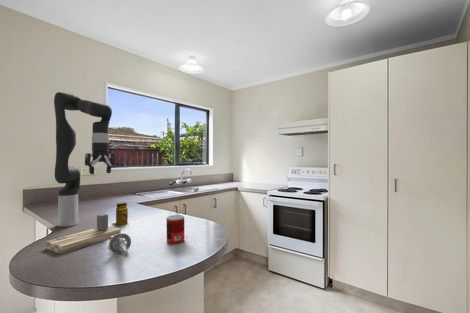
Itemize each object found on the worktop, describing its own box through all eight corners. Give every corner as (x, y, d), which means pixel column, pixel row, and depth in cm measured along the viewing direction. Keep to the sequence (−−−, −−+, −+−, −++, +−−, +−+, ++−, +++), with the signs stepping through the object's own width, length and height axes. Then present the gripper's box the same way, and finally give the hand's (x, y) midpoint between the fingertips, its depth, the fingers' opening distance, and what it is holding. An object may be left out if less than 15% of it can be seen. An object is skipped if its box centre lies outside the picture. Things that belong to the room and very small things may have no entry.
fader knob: (96, 232, 112) (96, 215, 112) (102, 231, 114) (102, 213, 115) (102, 233, 110) (101, 216, 110) (108, 232, 113) (107, 214, 113)
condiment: (129, 224, 132) (129, 203, 132) (112, 227, 127) (112, 205, 128) (127, 221, 138) (127, 201, 138) (111, 224, 134) (111, 203, 134)
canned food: (187, 239, 107) (187, 215, 107) (178, 245, 99) (177, 219, 99) (173, 237, 109) (173, 214, 110) (163, 243, 102) (162, 218, 102)
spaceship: (108, 250, 74) (133, 236, 78) (102, 233, 103) (120, 223, 108) (119, 272, 75) (143, 257, 79) (110, 248, 104) (128, 238, 109)
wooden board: (46, 248, 97) (46, 241, 97) (105, 231, 120) (105, 225, 120) (61, 254, 91) (61, 245, 91) (120, 234, 114) (120, 228, 114)
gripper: (108, 143, 127) (108, 172, 127) (81, 141, 114) (81, 174, 114) (117, 142, 124) (117, 173, 123) (90, 141, 111) (90, 174, 111)
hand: (100, 173), depth 119 cm, fingers open, 8 cm apart
